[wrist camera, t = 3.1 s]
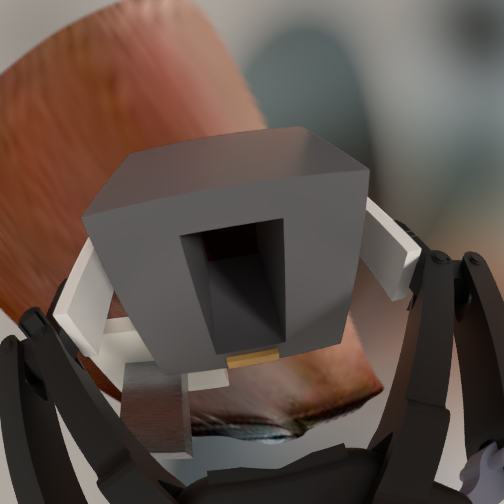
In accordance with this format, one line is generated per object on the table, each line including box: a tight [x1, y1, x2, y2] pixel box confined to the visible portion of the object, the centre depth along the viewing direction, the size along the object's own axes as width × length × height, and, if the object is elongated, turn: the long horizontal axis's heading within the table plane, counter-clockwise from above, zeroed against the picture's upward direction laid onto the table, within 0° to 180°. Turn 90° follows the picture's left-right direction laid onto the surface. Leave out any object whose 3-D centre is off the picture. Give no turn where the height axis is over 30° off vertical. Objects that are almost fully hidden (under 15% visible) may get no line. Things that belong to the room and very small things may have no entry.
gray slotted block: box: [81, 126, 370, 376], centre depth 13 cm, size 9×9×7 cm
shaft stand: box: [89, 317, 229, 459], centre depth 19 cm, size 11×10×10 cm
